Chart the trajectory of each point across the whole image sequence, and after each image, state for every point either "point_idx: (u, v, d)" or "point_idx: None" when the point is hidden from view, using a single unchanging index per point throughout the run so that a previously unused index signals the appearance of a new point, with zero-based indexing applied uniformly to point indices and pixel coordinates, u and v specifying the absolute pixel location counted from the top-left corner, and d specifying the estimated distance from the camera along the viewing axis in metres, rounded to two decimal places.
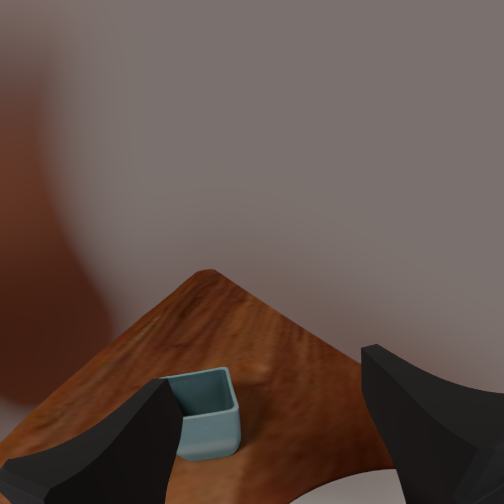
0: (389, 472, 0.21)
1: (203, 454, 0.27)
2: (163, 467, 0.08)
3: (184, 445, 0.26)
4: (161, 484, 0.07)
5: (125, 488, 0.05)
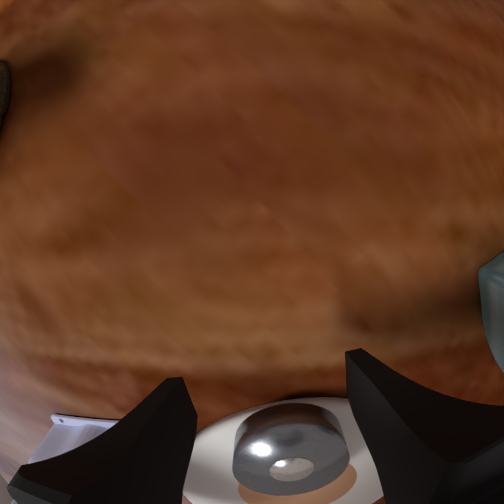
0: None
1: (487, 306, 0.16)
2: (179, 468, 0.08)
3: (503, 305, 0.13)
4: (177, 485, 0.07)
5: (145, 491, 0.05)
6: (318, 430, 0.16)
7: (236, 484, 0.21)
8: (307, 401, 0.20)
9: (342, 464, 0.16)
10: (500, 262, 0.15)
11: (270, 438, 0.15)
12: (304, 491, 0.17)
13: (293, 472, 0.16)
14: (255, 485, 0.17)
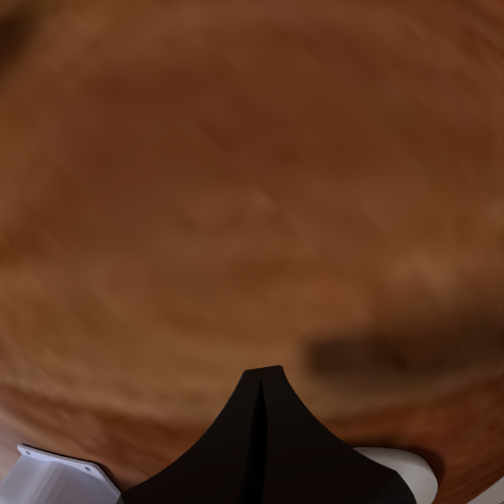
0: None
1: None
2: None
3: None
4: None
5: (259, 493, 0.05)
6: None
7: None
8: None
9: None
10: None
11: None
12: None
13: None
14: None
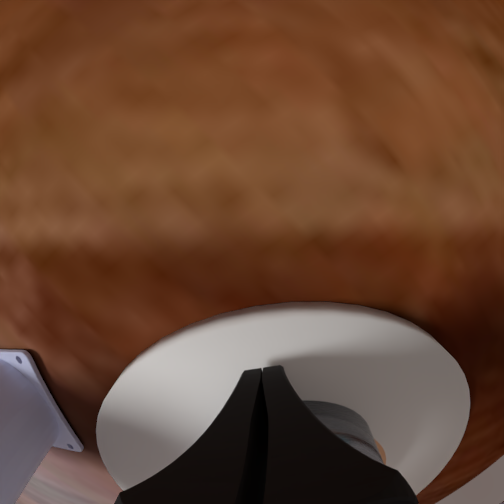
0: (442, 465, 0.13)
1: None
2: None
3: None
4: None
5: (258, 493, 0.05)
6: None
7: None
8: (302, 305, 0.11)
9: None
10: None
11: None
12: None
13: None
14: None
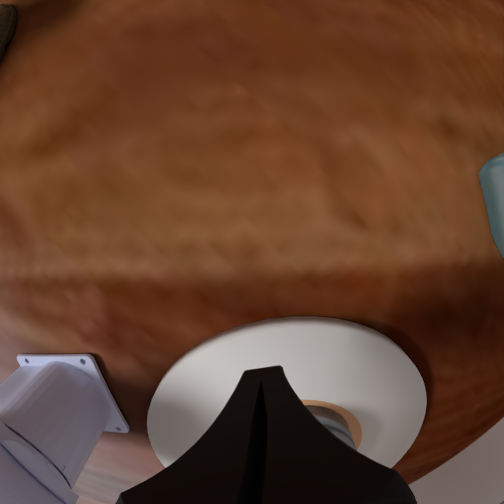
0: (410, 440, 0.19)
1: (494, 206, 0.14)
2: None
3: None
4: None
5: (259, 493, 0.05)
6: None
7: None
8: (297, 319, 0.18)
9: None
10: None
11: None
12: None
13: None
14: None
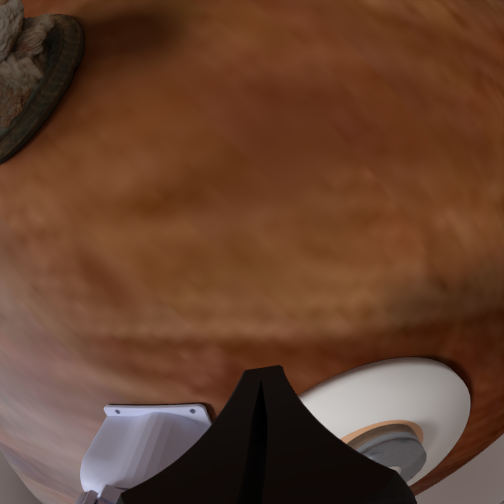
0: (453, 443, 0.21)
1: None
2: None
3: None
4: None
5: (259, 493, 0.05)
6: (408, 443, 0.18)
7: None
8: (393, 361, 0.20)
9: (420, 465, 0.18)
10: None
11: (375, 456, 0.17)
12: None
13: None
14: None
